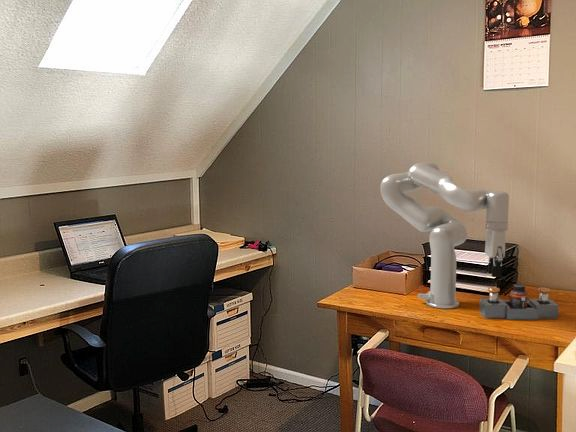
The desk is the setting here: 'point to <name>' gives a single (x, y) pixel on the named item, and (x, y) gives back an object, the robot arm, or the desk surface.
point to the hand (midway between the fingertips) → (494, 274)
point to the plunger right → (543, 295)
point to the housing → (519, 310)
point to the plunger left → (493, 294)
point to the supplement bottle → (518, 296)
